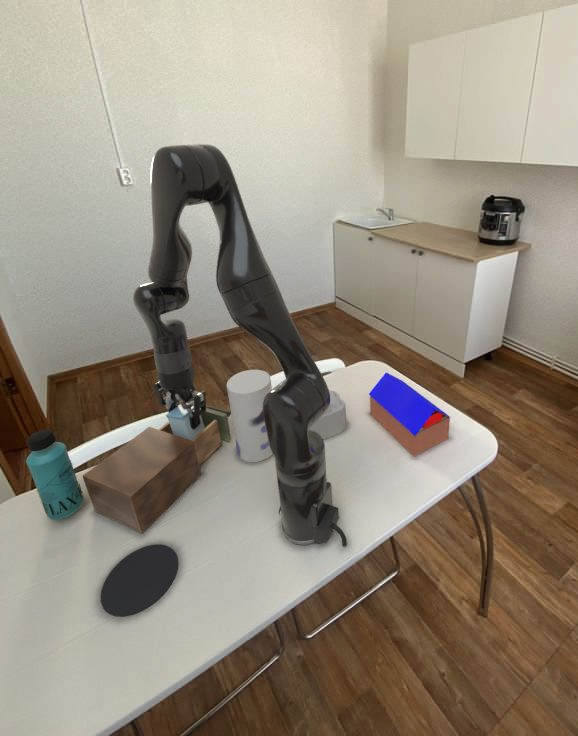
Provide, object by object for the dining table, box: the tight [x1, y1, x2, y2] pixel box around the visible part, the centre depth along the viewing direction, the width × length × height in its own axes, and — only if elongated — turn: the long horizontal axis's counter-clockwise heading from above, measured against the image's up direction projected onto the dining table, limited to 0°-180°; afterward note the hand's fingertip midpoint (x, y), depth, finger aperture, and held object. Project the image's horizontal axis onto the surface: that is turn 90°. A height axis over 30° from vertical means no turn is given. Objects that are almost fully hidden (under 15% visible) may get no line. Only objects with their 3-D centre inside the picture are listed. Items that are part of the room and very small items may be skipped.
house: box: [368, 372, 451, 457], centre depth 102 cm, size 12×20×12 cm, turn 32°
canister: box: [165, 402, 205, 440], centre depth 94 cm, size 5×5×10 cm
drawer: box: [157, 405, 232, 466], centre depth 95 cm, size 19×13×8 cm
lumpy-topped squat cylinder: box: [309, 390, 347, 440], centre depth 103 cm, size 10×13×9 cm
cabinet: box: [82, 426, 202, 535], centre depth 83 cm, size 16×14×10 cm
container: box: [226, 369, 274, 463], centre depth 93 cm, size 10×10×20 cm
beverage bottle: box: [25, 428, 84, 521], centre depth 77 cm, size 6×7×20 cm
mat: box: [100, 543, 179, 618], centre depth 67 cm, size 12×12×1 cm
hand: (185, 422), depth 93 cm, fingers closed on canister, 6 cm apart
